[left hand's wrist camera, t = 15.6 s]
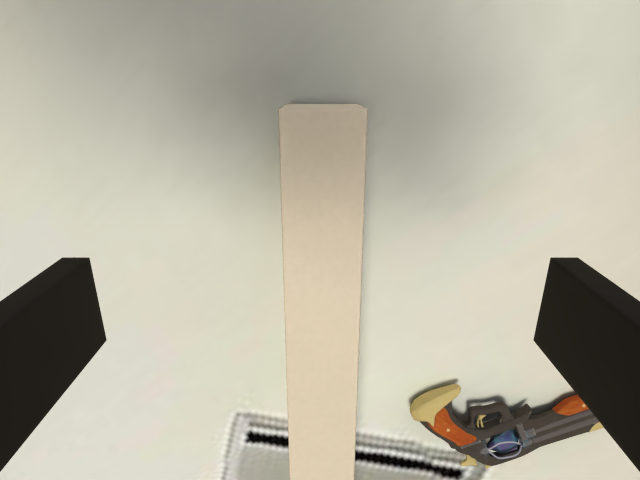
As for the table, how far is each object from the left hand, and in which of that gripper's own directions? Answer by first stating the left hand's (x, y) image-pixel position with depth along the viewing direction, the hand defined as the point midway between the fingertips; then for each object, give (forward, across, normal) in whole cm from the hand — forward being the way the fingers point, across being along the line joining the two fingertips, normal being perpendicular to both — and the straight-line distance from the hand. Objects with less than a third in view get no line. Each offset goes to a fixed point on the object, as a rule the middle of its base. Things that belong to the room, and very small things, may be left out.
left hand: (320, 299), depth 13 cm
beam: (+23, 0, -23) cm, 33 cm away
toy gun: (+23, +19, -25) cm, 39 cm away
